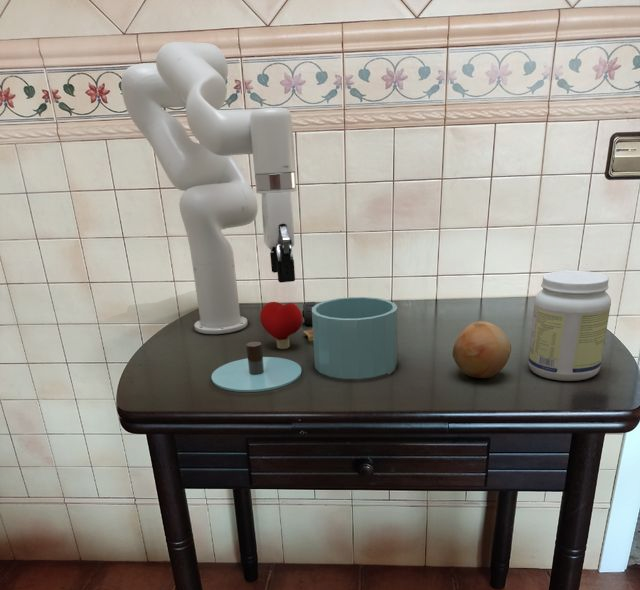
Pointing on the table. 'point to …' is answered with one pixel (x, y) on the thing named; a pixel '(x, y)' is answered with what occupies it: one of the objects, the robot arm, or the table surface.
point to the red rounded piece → (281, 321)
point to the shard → (309, 335)
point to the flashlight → (308, 312)
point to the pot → (355, 337)
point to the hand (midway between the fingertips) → (283, 276)
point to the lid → (256, 372)
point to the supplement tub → (569, 325)
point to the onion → (481, 350)
